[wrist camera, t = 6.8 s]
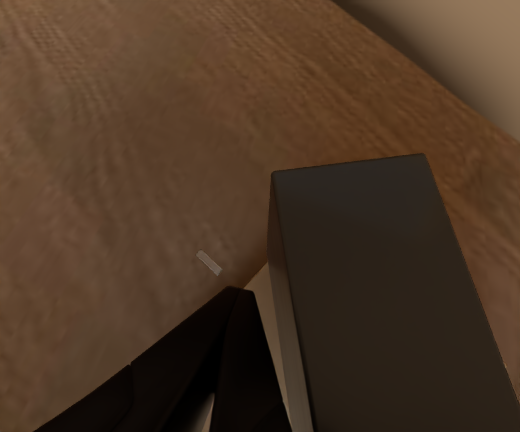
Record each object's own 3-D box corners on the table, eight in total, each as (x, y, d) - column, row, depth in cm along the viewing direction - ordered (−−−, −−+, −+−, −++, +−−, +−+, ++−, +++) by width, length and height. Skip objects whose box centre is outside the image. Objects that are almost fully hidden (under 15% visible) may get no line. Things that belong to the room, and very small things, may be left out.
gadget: (266, 250, 14) (270, 164, 7) (343, 240, 14) (430, 145, 7) (312, 571, 10) (447, 1224, 3) (417, 553, 10) (814, 1127, 3)
